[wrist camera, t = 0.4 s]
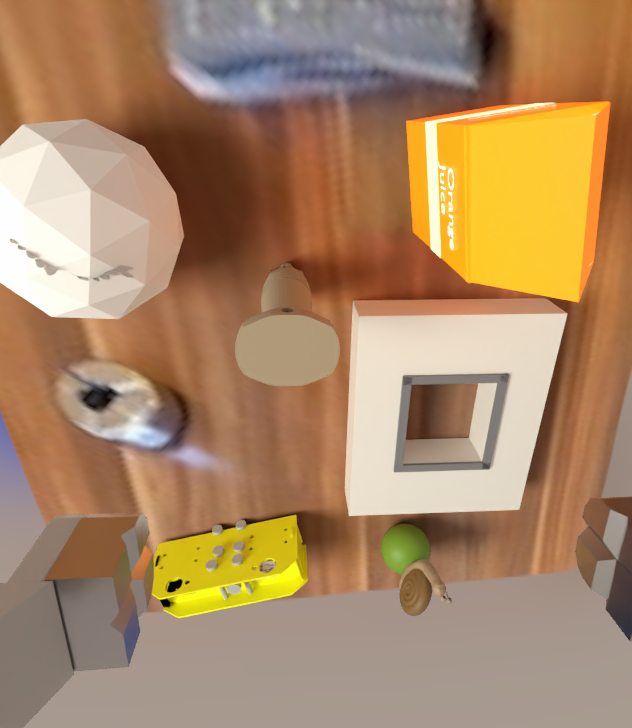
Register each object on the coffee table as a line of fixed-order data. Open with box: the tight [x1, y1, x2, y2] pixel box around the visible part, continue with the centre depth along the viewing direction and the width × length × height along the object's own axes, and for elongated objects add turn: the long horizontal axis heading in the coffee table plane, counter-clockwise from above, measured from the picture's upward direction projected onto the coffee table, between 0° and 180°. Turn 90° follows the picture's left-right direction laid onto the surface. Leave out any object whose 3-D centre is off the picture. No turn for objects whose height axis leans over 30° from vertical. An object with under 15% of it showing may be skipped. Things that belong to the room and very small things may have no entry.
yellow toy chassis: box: [152, 515, 308, 618], centre depth 54 cm, size 16×6×8 cm, turn 103°
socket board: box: [345, 298, 568, 516], centre depth 49 cm, size 22×18×4 cm
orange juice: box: [406, 102, 610, 302], centre depth 32 cm, size 8×9×20 cm
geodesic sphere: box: [0, 119, 184, 319], centre depth 35 cm, size 14×14×14 cm
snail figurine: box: [381, 524, 452, 616], centre depth 53 cm, size 5×6×12 cm
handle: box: [235, 263, 340, 386], centre depth 38 cm, size 5×6×15 cm
